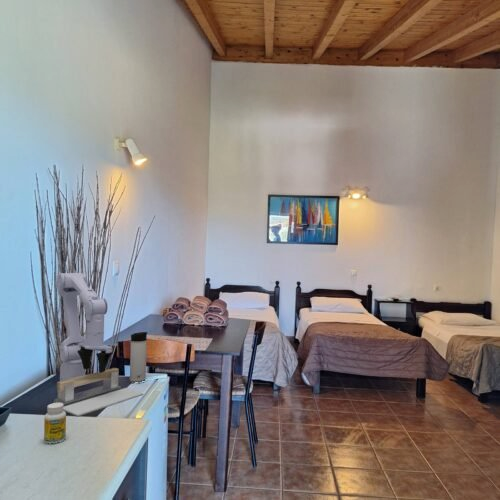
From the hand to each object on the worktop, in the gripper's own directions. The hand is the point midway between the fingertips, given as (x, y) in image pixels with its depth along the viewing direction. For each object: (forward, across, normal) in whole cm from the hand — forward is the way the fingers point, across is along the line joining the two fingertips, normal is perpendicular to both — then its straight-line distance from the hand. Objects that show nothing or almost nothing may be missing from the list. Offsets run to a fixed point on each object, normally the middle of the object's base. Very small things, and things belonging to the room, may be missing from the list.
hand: (94, 370), depth 146 cm
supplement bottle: (+9, +18, -30) cm, 36 cm away
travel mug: (+10, +2, +21) cm, 23 cm away
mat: (+9, +7, -2) cm, 12 cm away
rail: (+4, -2, 0) cm, 5 cm away
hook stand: (+9, -2, 0) cm, 10 cm away
